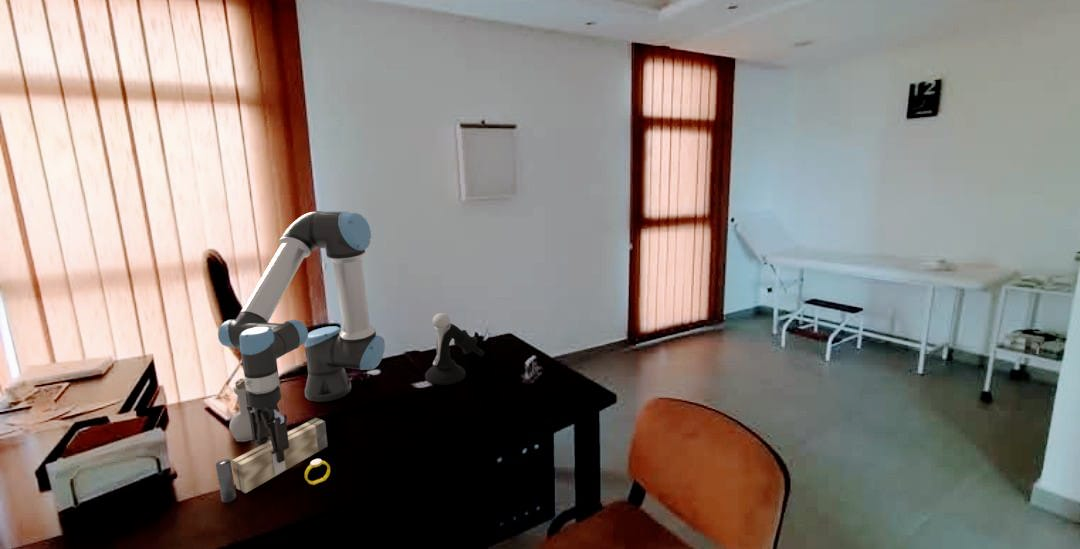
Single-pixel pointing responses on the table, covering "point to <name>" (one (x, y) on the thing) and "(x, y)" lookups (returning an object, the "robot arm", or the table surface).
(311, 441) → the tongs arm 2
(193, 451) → the table surface
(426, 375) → the sculpture
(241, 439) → the potion bottle
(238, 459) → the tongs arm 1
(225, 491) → the post
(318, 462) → the gold ring
